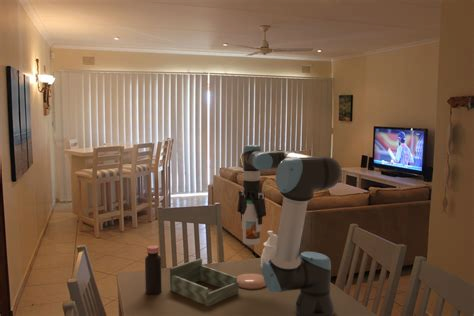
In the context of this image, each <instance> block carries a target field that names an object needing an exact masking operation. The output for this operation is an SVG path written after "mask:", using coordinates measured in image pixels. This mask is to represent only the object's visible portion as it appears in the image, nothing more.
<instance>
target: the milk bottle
mask: <svg viewBox="0 0 474 316" xmlns="http://www.w3.org/2000/svg"><path fill="white" fill-rule="evenodd" d="M255 201H256V200H255ZM256 217H257V213H256V210H255V206H254V203H253V202H252V200H248V199H247V208H246V211H245V213H244V216H243V229H242V243H243V244H245V245H247V246H256V245H259V244H260V243H261V231H259V232H256Z"/></svg>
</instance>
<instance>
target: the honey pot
mask: <svg viewBox="0 0 474 316" xmlns="http://www.w3.org/2000/svg"><path fill="white" fill-rule="evenodd" d="M273 232H274V231H273V230H268V231H267V235H269V237H268V239H267V241H265V242H263V244H262V245H263V246H264V248H263V249H262V254H261V256H260V267H261V269H262V266H263V263H264V262H265V261H269V260H270V255H271V253H272V252H274V251H275V248H276V242H277V236H278V234H275V233H273Z"/></svg>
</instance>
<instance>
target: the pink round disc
mask: <svg viewBox="0 0 474 316" xmlns="http://www.w3.org/2000/svg"><path fill="white" fill-rule="evenodd" d="M236 277H237V282H239V288H241V289H247V290H257V289H263V288H265V287H267V286H266V284H265V281H264V277H263V274H259V273H243V274H239V275H237V276H236Z"/></svg>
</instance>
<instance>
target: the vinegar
mask: <svg viewBox="0 0 474 316" xmlns="http://www.w3.org/2000/svg"><path fill="white" fill-rule="evenodd" d="M146 252H147V253H146V254H147V255H146V256H145V258H144V266H145V267H144V268H145V269H144V271H145V272H144V273H145V274H144V275H145V293H146V294H147V295H158V294H160V293H162V257H161V256H160V255H159V252H160V247H159V245H156V244H155V245H148V246H146Z"/></svg>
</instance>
